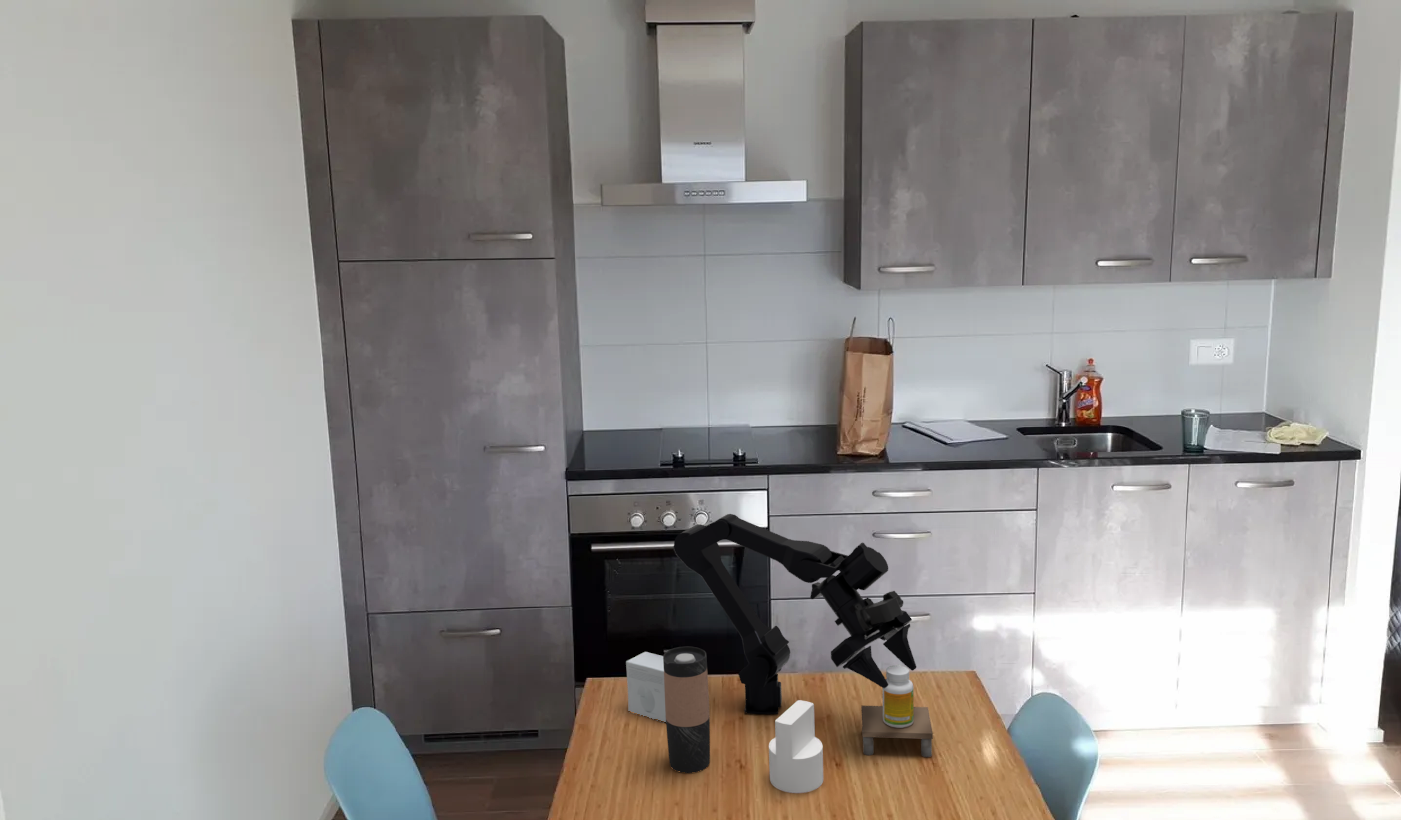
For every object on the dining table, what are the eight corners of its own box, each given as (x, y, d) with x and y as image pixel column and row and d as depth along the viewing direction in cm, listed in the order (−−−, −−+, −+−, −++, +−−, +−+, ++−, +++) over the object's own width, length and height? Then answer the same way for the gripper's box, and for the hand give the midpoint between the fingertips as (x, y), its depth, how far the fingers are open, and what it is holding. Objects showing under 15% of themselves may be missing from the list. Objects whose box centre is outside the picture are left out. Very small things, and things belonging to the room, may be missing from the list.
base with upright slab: (809, 798, 164) (807, 729, 162) (760, 784, 169) (758, 717, 167) (832, 772, 171) (830, 706, 169) (784, 760, 176) (783, 695, 174)
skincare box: (690, 711, 196) (687, 660, 194) (670, 725, 191) (667, 672, 189) (647, 699, 202) (645, 649, 200) (627, 712, 197) (624, 661, 195)
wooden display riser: (862, 755, 177) (862, 731, 176) (861, 728, 186) (861, 705, 186) (932, 757, 175) (932, 733, 174) (928, 730, 185) (928, 707, 184)
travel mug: (717, 754, 179) (712, 648, 176) (703, 776, 172) (698, 666, 168) (676, 749, 181) (671, 644, 178) (661, 770, 174) (656, 661, 171)
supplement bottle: (917, 727, 177) (917, 675, 175) (887, 729, 176) (886, 677, 175) (908, 713, 182) (908, 662, 180) (879, 715, 181) (878, 664, 180)
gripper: (843, 595, 172) (900, 673, 166) (902, 567, 185) (956, 638, 180) (807, 628, 179) (860, 704, 173) (866, 599, 192) (917, 668, 186)
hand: (900, 677), depth 178 cm, fingers open, 9 cm apart
